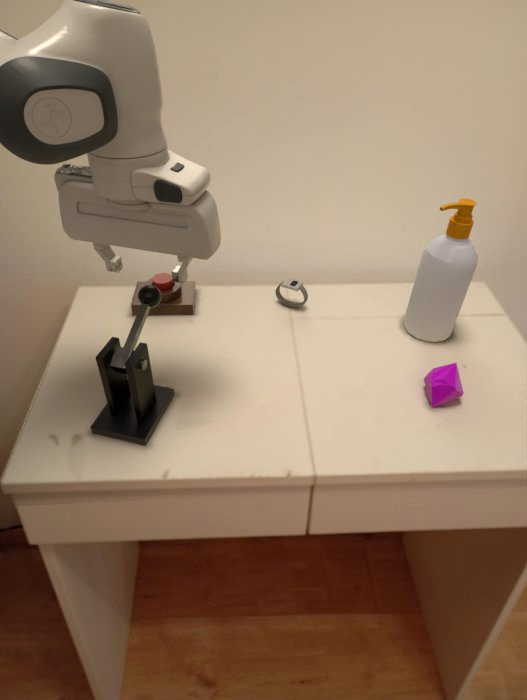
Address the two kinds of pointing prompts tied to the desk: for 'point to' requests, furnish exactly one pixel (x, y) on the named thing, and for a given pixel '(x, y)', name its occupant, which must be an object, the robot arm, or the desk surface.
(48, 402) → the desk surface
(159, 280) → the button
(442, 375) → the crystal
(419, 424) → the desk surface
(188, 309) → the panel
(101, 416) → the black lever stand
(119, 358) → the ball knob lever
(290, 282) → the wristwatch
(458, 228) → the soap bottle
